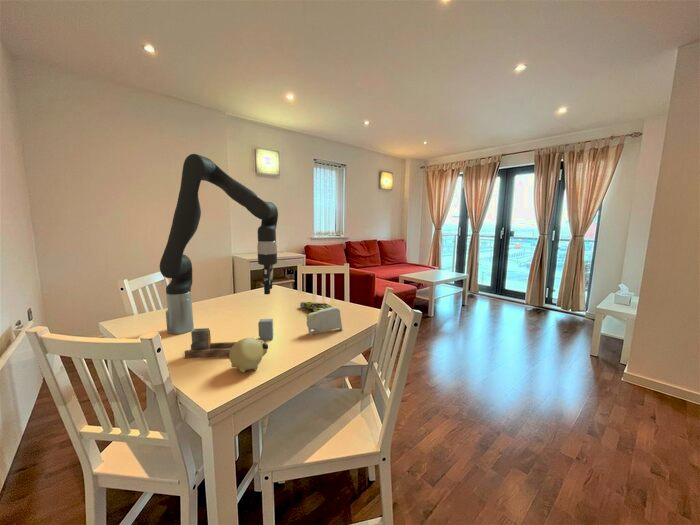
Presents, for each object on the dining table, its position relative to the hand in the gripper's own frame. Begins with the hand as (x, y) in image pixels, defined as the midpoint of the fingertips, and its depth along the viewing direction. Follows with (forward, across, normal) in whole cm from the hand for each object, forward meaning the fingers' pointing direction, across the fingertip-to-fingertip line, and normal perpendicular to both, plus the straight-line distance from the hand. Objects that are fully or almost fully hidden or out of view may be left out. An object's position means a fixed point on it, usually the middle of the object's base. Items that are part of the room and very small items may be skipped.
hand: (268, 291), depth 120 cm
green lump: (+20, -31, +22) cm, 43 cm away
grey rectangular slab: (+20, -2, +23) cm, 31 cm away
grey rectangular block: (+20, +2, -1) cm, 20 cm away
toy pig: (+20, +26, -4) cm, 33 cm away
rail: (+19, +13, -17) cm, 29 cm away
